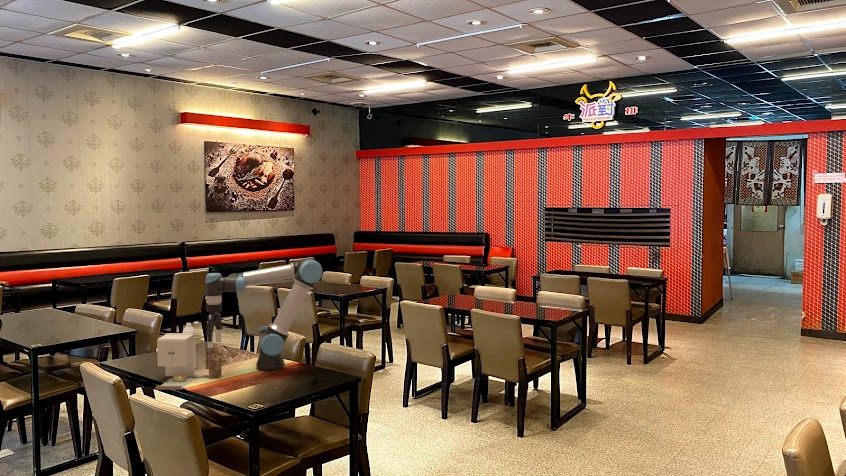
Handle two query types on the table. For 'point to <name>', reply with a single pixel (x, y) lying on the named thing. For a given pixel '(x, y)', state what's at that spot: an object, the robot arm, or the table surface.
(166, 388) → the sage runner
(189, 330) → the water bottle
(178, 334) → the wall cabinet
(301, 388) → the table surface
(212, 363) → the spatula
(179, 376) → the brass puck
